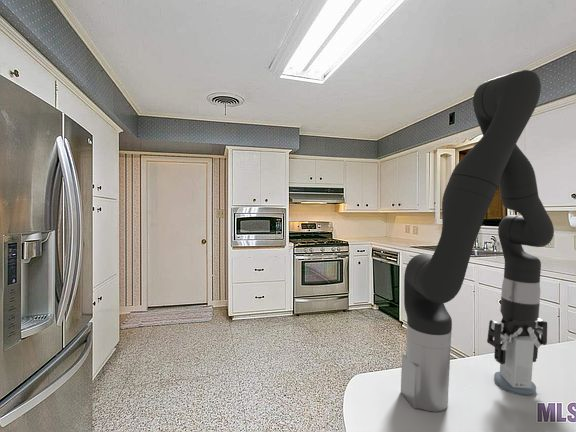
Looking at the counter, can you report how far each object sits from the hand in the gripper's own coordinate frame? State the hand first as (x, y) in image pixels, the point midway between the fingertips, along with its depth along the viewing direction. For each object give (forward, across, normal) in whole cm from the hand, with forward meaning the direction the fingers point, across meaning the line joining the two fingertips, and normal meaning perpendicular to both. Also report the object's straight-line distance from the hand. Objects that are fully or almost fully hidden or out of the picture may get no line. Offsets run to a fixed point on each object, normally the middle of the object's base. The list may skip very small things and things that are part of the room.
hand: (515, 361), depth 77 cm
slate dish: (+6, 0, 0) cm, 6 cm away
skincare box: (+5, 0, 0) cm, 5 cm away
